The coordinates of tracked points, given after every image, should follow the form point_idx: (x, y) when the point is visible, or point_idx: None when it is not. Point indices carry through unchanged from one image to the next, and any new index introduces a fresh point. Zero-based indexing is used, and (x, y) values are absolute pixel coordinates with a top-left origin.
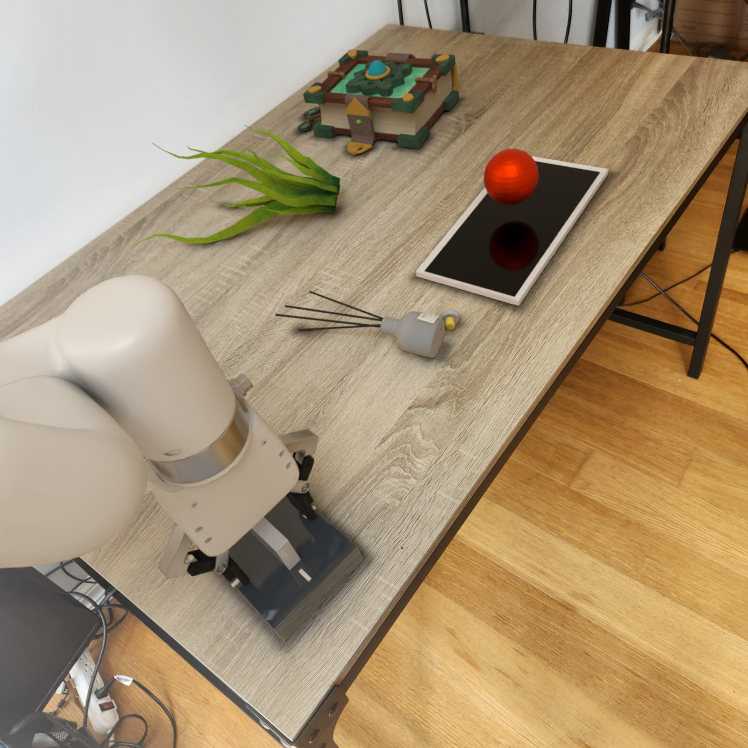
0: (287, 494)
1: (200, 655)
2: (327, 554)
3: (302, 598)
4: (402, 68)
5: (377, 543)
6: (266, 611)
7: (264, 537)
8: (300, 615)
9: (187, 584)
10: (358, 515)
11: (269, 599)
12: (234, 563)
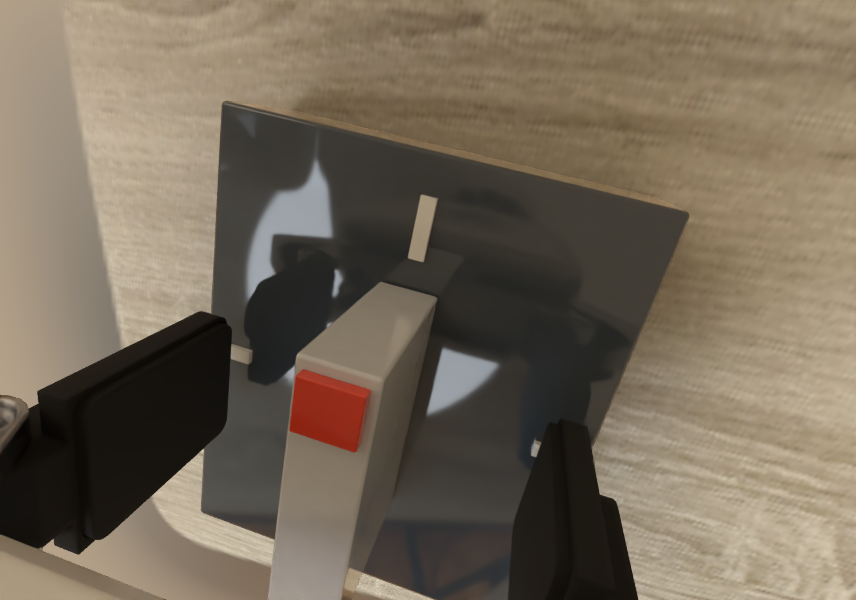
0: (542, 531)
1: (112, 283)
2: (448, 563)
3: None
4: None
5: None
6: (220, 472)
7: (280, 559)
8: None
9: (192, 101)
10: (646, 488)
11: (247, 466)
12: (91, 538)
